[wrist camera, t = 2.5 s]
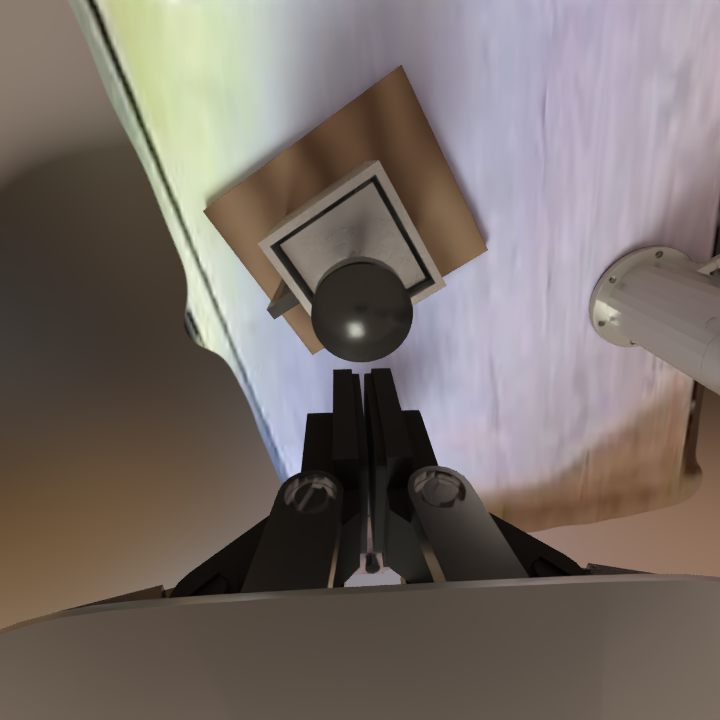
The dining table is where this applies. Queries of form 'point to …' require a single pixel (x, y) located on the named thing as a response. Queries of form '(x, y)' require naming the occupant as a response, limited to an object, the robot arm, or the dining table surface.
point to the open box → (292, 282)
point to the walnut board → (335, 159)
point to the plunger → (357, 277)
